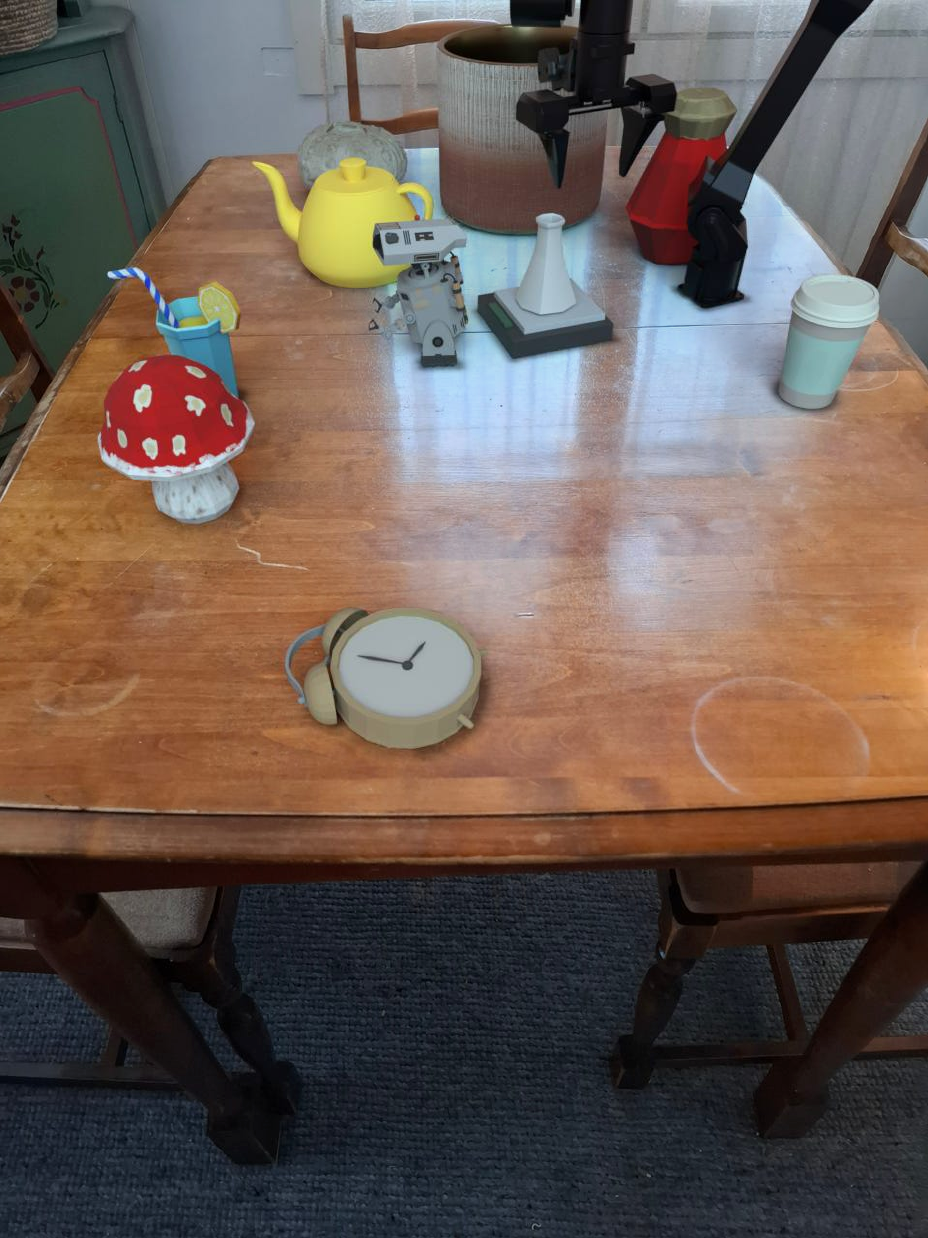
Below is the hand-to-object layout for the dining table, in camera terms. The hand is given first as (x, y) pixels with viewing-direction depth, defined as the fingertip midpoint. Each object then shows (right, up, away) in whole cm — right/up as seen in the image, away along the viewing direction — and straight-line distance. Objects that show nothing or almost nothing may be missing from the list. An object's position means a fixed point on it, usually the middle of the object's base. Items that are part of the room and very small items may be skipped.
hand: (590, 181), depth 99 cm
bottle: (+15, -2, +16) cm, 22 cm away
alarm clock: (-22, -60, -37) cm, 74 cm away
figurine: (-21, -22, -2) cm, 30 cm away
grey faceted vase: (-6, -15, 0) cm, 16 cm away
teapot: (-31, -4, +15) cm, 35 cm away
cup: (-45, -30, -9) cm, 54 cm away
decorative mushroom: (-41, -43, -21) cm, 64 cm away
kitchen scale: (-6, -17, +2) cm, 18 cm away
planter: (-7, +11, +29) cm, 31 cm away
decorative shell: (-34, +17, +34) cm, 51 cm away
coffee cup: (+22, -30, -10) cm, 39 cm away
